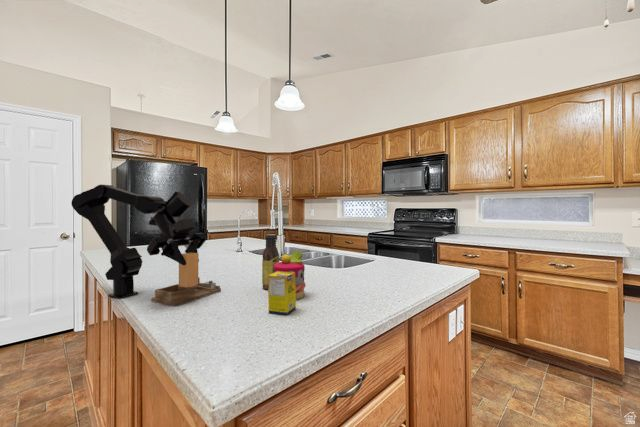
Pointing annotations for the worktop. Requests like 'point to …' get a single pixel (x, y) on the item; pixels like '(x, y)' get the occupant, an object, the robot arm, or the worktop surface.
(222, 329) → the worktop surface
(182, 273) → the block
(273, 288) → the supplement box
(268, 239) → the sauce bottle
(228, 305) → the worktop surface
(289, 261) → the cake
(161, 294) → the housing
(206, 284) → the bolt
